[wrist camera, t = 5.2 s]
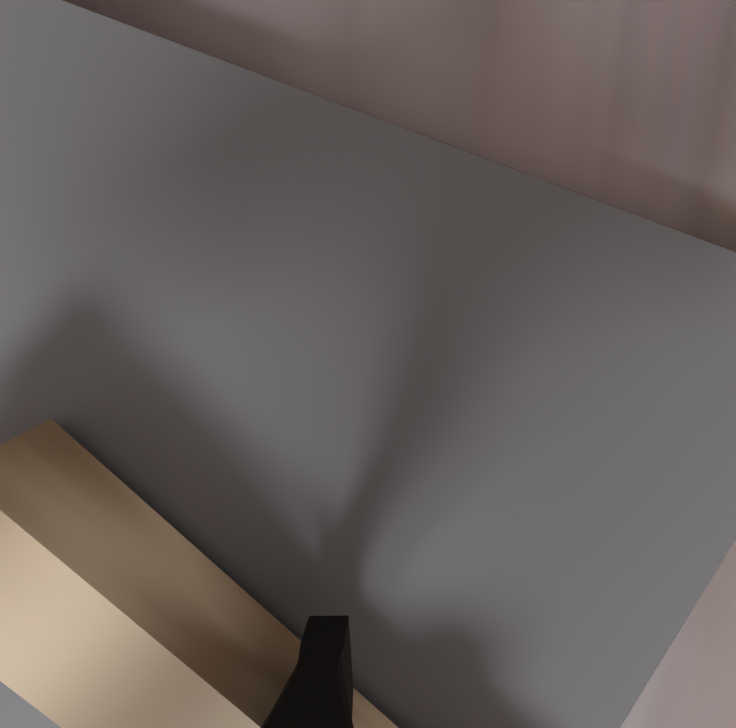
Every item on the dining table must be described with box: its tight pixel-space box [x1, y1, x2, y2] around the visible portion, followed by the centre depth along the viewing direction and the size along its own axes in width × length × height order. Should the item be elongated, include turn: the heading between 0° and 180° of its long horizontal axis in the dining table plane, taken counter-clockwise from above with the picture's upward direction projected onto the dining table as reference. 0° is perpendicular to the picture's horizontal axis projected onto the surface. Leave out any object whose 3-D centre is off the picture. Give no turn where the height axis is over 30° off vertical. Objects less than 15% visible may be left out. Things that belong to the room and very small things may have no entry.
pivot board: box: [0, 0, 736, 728], centre depth 9 cm, size 24×20×6 cm
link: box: [0, 419, 398, 728], centre depth 11 cm, size 16×4×2 cm, turn 43°
